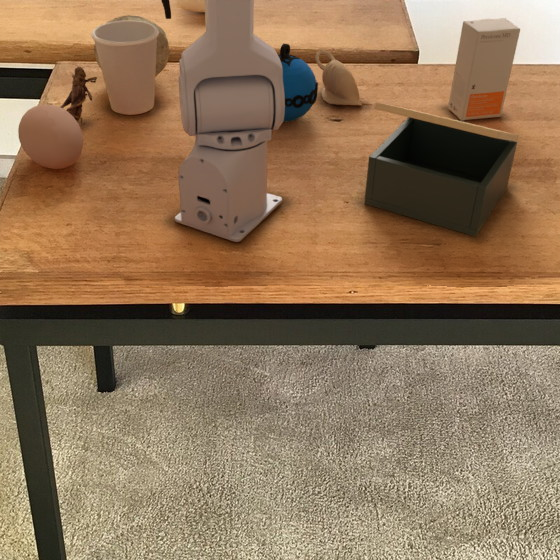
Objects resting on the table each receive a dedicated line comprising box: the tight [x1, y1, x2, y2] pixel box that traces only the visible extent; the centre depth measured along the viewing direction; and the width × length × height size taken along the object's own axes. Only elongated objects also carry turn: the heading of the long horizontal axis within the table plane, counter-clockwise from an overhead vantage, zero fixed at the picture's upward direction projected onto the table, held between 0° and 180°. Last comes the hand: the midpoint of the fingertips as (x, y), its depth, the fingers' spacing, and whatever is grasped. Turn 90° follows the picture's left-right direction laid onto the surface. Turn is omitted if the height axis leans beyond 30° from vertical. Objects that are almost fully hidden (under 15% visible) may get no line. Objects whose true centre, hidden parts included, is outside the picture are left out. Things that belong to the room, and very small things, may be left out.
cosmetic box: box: [447, 17, 521, 122], centre depth 100 cm, size 6×4×12 cm
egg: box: [17, 103, 84, 170], centre depth 88 cm, size 7×7×10 cm
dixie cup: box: [90, 20, 159, 116], centre depth 100 cm, size 8×8×10 cm
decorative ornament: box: [314, 49, 363, 107], centre depth 105 cm, size 4×8×5 cm, turn 23°
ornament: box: [277, 43, 319, 123], centre depth 98 cm, size 9×9×10 cm
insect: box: [60, 64, 98, 126], centre depth 97 cm, size 4×8×5 cm
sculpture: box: [93, 14, 170, 78], centre depth 105 cm, size 10×4×10 cm, turn 95°
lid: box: [373, 101, 520, 142], centre depth 81 cm, size 12×13×1 cm
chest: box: [364, 117, 518, 238], centre depth 84 cm, size 12×13×6 cm
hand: (197, 13), depth 101 cm, fingers open, 7 cm apart
